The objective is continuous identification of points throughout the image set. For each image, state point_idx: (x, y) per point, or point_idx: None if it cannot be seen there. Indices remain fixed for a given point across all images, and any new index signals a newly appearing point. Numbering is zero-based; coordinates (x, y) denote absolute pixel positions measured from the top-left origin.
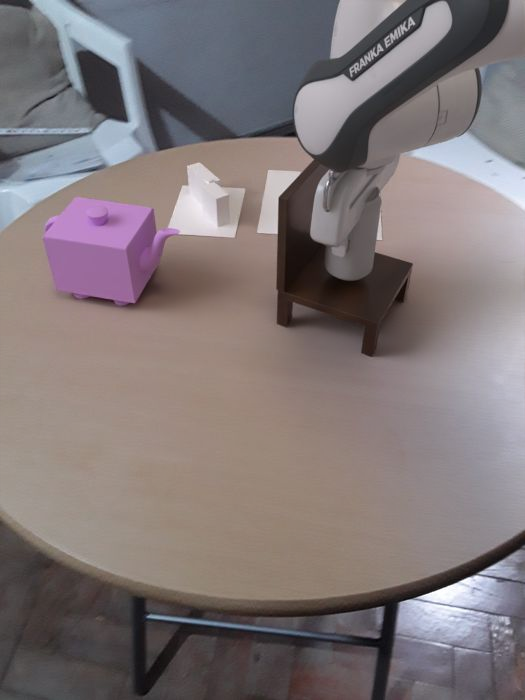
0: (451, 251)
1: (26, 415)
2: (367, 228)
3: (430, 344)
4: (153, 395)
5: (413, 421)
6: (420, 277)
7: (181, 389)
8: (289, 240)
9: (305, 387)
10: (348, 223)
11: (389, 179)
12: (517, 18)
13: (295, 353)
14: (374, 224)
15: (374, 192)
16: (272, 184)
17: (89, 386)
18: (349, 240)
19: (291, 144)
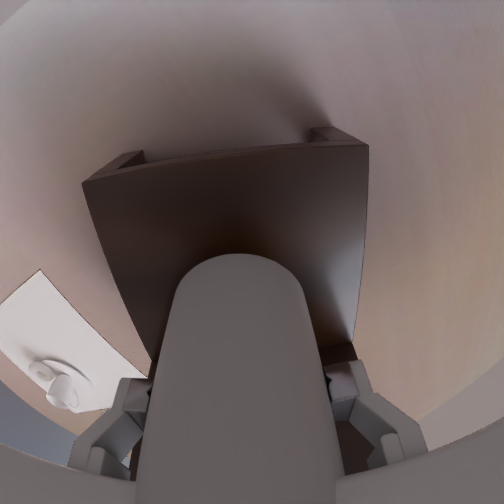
0: None
1: (489, 362)
2: (300, 423)
3: (228, 42)
4: (472, 322)
5: (427, 21)
6: (60, 166)
7: (464, 310)
8: (367, 444)
9: (438, 197)
10: (498, 484)
11: (19, 456)
12: None
13: (381, 244)
14: (258, 423)
15: None
16: (86, 406)
17: (465, 359)
18: (335, 401)
19: (32, 405)
